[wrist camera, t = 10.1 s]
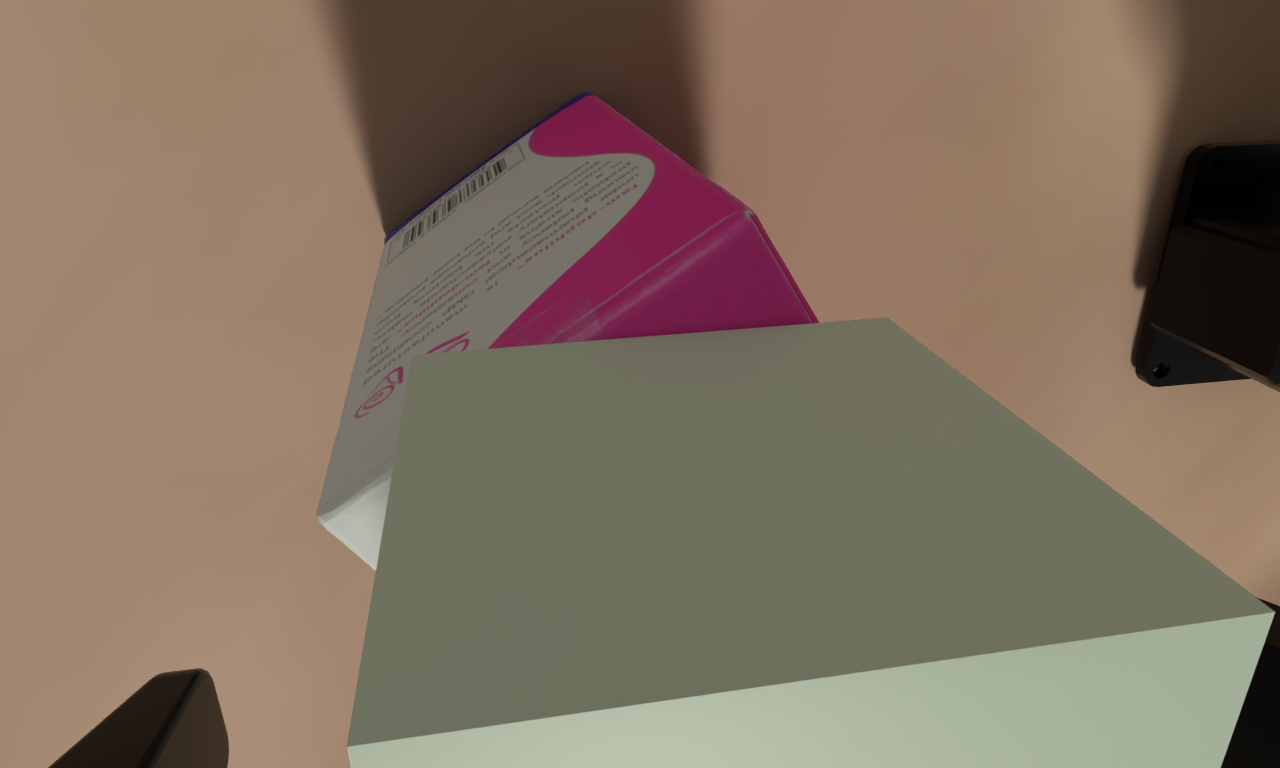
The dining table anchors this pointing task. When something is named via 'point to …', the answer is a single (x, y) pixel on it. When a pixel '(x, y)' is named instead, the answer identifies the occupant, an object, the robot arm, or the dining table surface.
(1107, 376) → the dining table surface
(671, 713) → the sage cube
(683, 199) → the supplement box
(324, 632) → the dining table surface
